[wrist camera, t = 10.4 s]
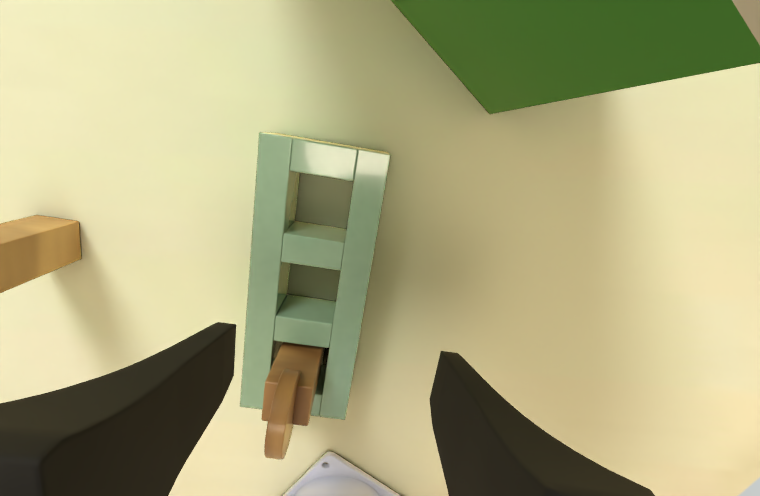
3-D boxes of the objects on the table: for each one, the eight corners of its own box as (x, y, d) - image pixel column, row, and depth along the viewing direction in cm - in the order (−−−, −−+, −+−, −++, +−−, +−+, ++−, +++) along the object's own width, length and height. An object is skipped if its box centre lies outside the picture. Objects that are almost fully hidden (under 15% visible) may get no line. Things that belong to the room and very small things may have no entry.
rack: (255, 375, 25) (239, 407, 22) (275, 132, 20) (258, 131, 18) (348, 387, 25) (345, 420, 22) (388, 152, 21) (390, 154, 18)
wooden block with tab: (286, 364, 25) (243, 476, 17) (291, 311, 24) (249, 403, 15) (321, 369, 25) (296, 482, 17) (329, 316, 24) (306, 410, 16)
